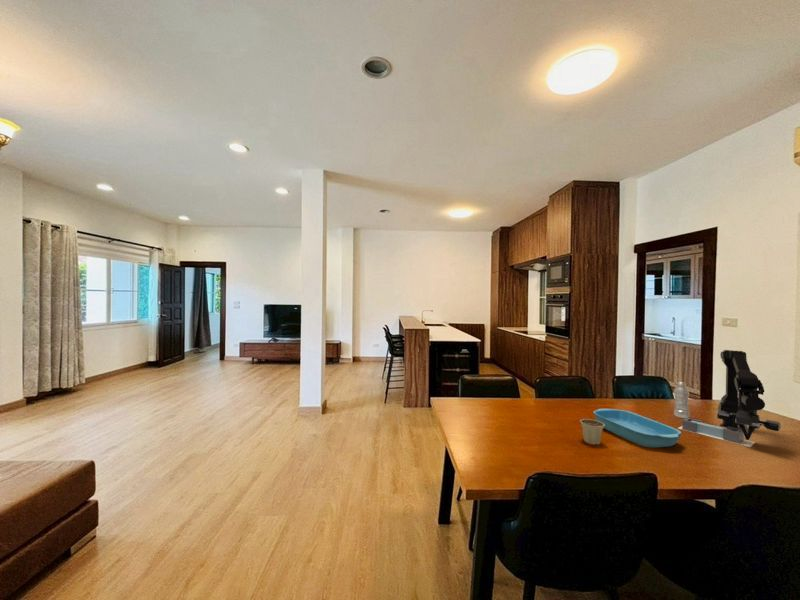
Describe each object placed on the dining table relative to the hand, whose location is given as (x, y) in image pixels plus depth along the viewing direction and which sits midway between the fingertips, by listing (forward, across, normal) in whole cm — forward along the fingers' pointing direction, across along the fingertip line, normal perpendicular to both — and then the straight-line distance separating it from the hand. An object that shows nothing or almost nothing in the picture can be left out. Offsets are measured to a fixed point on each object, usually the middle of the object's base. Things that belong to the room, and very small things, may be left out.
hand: (747, 439), depth 144 cm
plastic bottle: (+3, -28, +20) cm, 35 cm away
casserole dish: (+3, -33, -30) cm, 45 cm away
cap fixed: (+2, -19, 0) cm, 19 cm away
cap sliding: (+2, -4, 0) cm, 5 cm away
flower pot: (+2, -39, -57) cm, 69 cm away
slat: (+2, -12, 0) cm, 13 cm away
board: (+2, -11, 0) cm, 11 cm away
